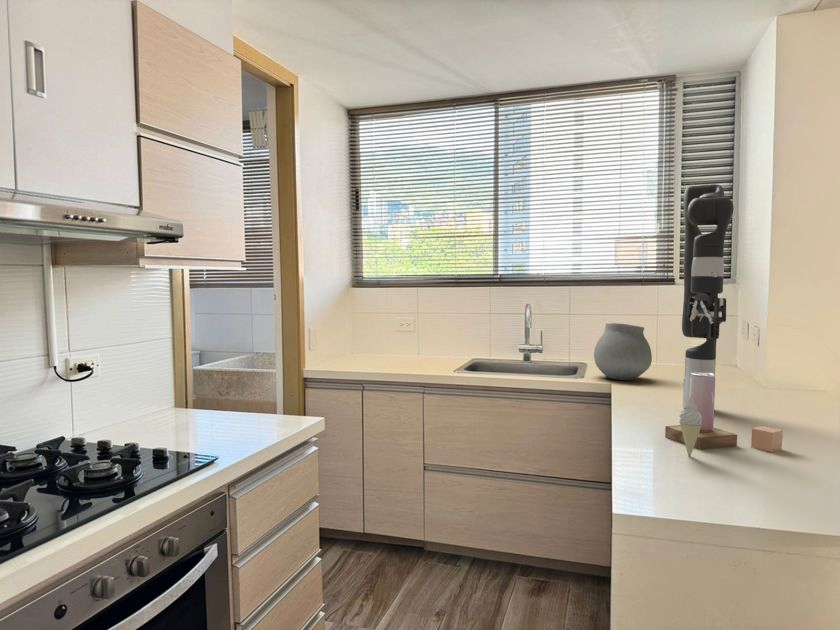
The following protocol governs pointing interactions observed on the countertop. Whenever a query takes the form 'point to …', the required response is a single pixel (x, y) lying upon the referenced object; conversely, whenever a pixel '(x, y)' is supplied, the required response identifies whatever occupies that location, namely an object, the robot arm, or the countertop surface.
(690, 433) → the ice cream cone
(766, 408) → the countertop surface
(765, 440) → the terracotta cube
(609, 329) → the ceramic pot
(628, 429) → the countertop surface
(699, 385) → the beverage can
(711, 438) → the pedestal
